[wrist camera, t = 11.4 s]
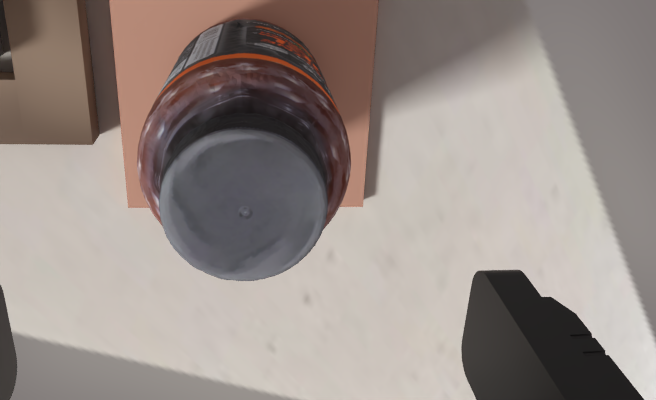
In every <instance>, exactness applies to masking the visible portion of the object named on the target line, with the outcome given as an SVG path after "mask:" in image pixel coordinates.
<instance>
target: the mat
mask: <svg viewBox="0 0 656 400" xmlns="http://www.w3.org/2000/svg"><path fill="white" fill-rule="evenodd" d="M109 3H110V14H111V25H112V36H113V47H114V57H115V68H116V79H117V90H118V101H119V112H120V123H121V134H122V145H123V156H124V166H125V177H126V188H127V199H128V208H150V207H149V206H148V204H147V202H146V200H145V198H144V195H143V192H142V190H141V186H140V181H139V176H138V171H137V152H138V144H139V140H140V135H141V131H142V129H143V126H144V123H145V120H146V118H147V116H148V113H149V112H150V110H151V108H152V106H153V104H154V102H155V100H156V98H157V97H158V95H159V93H160V91H161V89H162V88H163V86H164V84H165V82H166V80H167V78H168V77H169V75H170V73H171V71H172V69H173V67H174V65H175V64H176V62H177V60H178V58H179V56H180V55H181V53H182V52H183V50H184V49H185V48H186V46H187V45H188V44H189V43H190V42H191V41H192V40H193V39H194V38H195V37H196V36H197V35H199V34H200V33H201V32H203V31H205V30H206V29H208V28H209V27H211V26H214V25H216V24H218V23H221V22H225V21H228V20H232V19H239V18H247V19H258V20H263V21H267V22H270V23H273V24H275V25H278V26H280V27H282V28H284V29H285V30H287V31H289V32H290V33H291V34H293V35H294V36H296V37H297V38H298V39H299V40H300V41H302V42H303V43H304V44H305V46H306V47H307V48H308V49H309V51H310V53H311V54H312V55H313V57H314V58H315V60H316V62H317V64H318V66H319V68H320V70H321V72H322V74H323V77H324V78H325V81H326V84H327V86H328V89H329V90H330V92H331V95H332V96H333V99H334V101H335V103H336V105H337V108H338V110H339V113H340V115H341V117H342V120H343V122H344V125H345V128H346V131H347V135H348V140H349V146H350V153H351V170H350V177H349V182H348V186H347V190H346V193H345V195H344V198H343V201H342V203H341V205H340V206H339V207H363V197H364V184H365V171H366V158H367V146H368V133H369V120H370V107H371V94H372V81H373V68H374V55H375V42H376V29H377V16H378V3H379V0H109Z"/></svg>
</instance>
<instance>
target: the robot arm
mask: <svg viewBox="0 0 656 400" xmlns="http://www.w3.org/2000/svg"><path fill="white" fill-rule="evenodd" d="M462 362H463V367H464V372H465V375H466V377H467V380H468V382H469V384H470V386H471V388H472V391H473V393H474V395H475V397H476V399H477V400H644V399H643V398H642V396H641V395H640V394H639V393H638V391H637V390H636V389H635V388H634V386H633V385H632V384H631V383H630V381H629V380H628V379H627V378H626V376H625V375H624V374H623V373H622V371H621V370H620V369H619V368H618V366H617V365H616V364H615V363H614V361H613V360H612V359H611V358H610V356H609V355H605V350H604V349H603V348H602V346H601V345H600V344H599V343H598V341H597V340H596V339H595V338H592V334H591V332H590V331H589V330H588V329H587V327H586V326H585V325H584V324H583V322H582V321H581V320H580V319H579V317H578V316H577V315H576V314H575V313H574V312H572V311H571V310H569V309H568V308H566V307H565V306H563V305H562V304H560V303H559V302H558V301H556V300H555V299H553V298H552V297H541V296H540V294H539V293H538V292H537V290H536V289H535V288H534V286H533V285H532V283H531V282H530V281H529V279H528V278H527V277H526V275H525V274H524V273H523V272H522V271H520V270H490V271H478V272H476V274H475V275H474V278H473V281H472V286H471V292H470V297H469V303H468V309H467V315H466V321H465V327H464V333H463V339H462ZM16 375H17V358H16V352H15V347H14V342H13V338H12V332H11V327H10V323H9V318H8V313H7V308H6V303H5V298H4V293H3V290H2V287H1V285H0V400H9V399H10V398H11V396H12V393H13V390H14V386H15V381H16Z"/></svg>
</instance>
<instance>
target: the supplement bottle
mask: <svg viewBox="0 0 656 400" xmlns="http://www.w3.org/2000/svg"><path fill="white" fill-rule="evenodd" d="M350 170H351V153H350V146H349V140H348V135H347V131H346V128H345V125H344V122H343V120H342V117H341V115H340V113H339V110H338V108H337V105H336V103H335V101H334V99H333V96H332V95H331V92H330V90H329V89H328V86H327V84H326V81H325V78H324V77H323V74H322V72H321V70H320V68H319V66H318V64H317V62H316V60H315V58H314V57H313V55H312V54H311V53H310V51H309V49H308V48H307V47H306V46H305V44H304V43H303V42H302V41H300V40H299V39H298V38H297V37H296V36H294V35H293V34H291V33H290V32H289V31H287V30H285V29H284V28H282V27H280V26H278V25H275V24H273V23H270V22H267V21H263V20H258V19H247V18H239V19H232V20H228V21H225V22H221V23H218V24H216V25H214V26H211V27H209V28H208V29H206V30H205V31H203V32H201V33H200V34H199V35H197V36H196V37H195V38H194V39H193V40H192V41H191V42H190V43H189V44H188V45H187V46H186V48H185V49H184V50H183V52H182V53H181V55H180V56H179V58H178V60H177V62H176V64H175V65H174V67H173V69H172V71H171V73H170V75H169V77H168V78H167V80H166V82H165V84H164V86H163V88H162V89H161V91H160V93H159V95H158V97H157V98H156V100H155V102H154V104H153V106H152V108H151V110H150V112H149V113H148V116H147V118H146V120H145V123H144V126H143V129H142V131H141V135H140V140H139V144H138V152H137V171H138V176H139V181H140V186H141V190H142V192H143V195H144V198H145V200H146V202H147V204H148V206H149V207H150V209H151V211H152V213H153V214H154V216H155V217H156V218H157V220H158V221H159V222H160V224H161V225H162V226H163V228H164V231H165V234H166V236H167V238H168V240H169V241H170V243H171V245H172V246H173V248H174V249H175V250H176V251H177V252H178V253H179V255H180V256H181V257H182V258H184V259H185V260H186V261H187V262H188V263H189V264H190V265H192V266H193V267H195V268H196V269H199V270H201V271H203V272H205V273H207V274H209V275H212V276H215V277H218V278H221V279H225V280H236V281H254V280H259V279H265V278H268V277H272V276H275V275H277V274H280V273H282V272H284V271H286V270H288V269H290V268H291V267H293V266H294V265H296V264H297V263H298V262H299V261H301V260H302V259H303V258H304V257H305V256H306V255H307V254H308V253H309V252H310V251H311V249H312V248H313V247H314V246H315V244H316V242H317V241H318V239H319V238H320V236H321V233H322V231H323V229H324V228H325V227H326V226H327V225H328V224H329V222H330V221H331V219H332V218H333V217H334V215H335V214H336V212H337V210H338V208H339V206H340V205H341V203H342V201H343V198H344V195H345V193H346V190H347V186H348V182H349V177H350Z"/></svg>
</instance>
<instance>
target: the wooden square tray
mask: <svg viewBox="0 0 656 400" xmlns="http://www.w3.org/2000/svg"><path fill="white" fill-rule="evenodd" d="M3 6H4V12H5V18H6V25H7V31H8V37H9V44H10V50H11V56H12V63H13V69H14V72H0V144H75V145H93V144H94V142H95V141H96V139H97V138H98V136H99V126H98V117H97V107H96V98H95V88H94V79H93V70H92V60H91V51H90V42H89V32H88V23H87V14H86V4H85V0H3ZM3 54H4V53H3V47H2V40H1V34H0V56H1V55H3Z"/></svg>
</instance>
